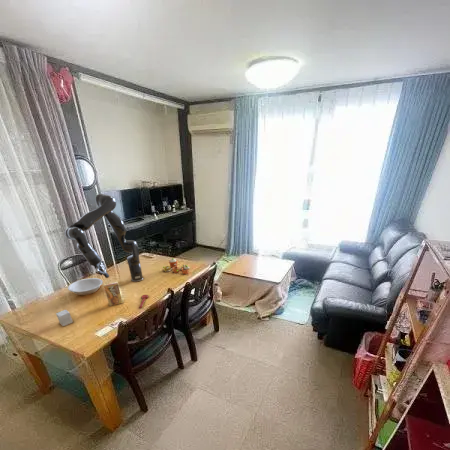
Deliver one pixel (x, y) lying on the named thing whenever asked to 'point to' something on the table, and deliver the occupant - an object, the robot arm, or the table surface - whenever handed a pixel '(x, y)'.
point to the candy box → (113, 293)
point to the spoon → (143, 300)
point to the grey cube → (64, 317)
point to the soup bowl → (85, 286)
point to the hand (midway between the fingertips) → (107, 277)
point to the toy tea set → (176, 269)
